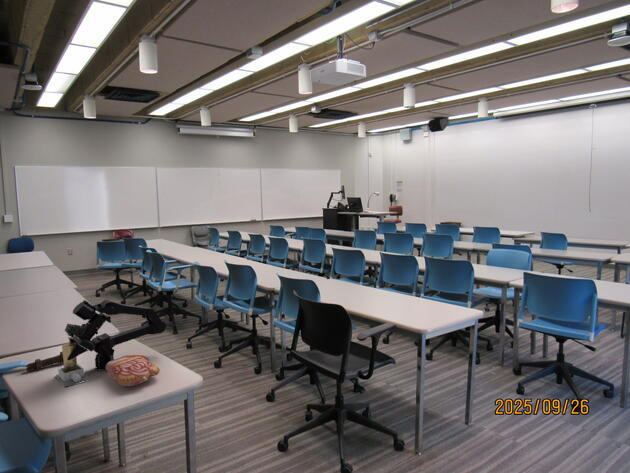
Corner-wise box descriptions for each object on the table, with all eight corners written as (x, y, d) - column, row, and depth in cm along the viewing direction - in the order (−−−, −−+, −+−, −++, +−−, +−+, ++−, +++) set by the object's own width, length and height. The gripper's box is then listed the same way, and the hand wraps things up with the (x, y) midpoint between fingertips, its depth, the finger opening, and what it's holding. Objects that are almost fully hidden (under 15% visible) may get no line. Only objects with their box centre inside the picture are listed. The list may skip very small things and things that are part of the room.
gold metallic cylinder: (80, 369, 181) (77, 342, 179) (74, 374, 176) (71, 346, 175) (68, 370, 181) (65, 342, 179) (62, 375, 176) (59, 347, 175)
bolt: (27, 375, 185) (65, 364, 195) (28, 373, 182) (67, 362, 192) (24, 363, 187) (62, 352, 197) (25, 360, 183) (64, 349, 193)
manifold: (79, 369, 186) (78, 361, 185) (89, 380, 175) (89, 371, 175) (55, 376, 179) (55, 368, 179) (65, 387, 169) (64, 378, 169)
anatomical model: (121, 378, 160) (98, 356, 182) (123, 396, 161) (100, 372, 183) (166, 365, 171) (139, 346, 193) (167, 383, 172) (140, 361, 194)
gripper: (70, 311, 185) (43, 343, 179) (83, 320, 172) (55, 354, 165) (91, 325, 192) (66, 355, 185) (106, 334, 178) (79, 368, 172)
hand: (66, 358), depth 177 cm, fingers closed on gold metallic cylinder, 5 cm apart
